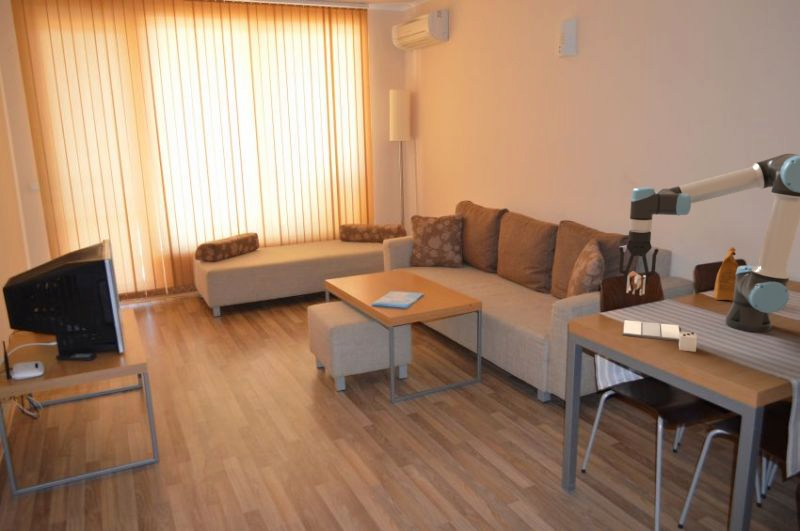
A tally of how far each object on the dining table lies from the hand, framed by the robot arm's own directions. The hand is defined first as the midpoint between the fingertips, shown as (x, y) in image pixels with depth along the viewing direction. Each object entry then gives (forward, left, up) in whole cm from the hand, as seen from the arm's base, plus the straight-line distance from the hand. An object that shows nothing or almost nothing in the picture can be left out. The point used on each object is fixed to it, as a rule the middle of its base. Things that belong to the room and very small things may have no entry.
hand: (635, 292), depth 224 cm
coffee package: (-38, -57, -15) cm, 69 cm away
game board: (-7, 0, -14) cm, 16 cm away
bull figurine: (0, 0, -1) cm, 1 cm away
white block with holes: (-18, +14, -15) cm, 27 cm away
